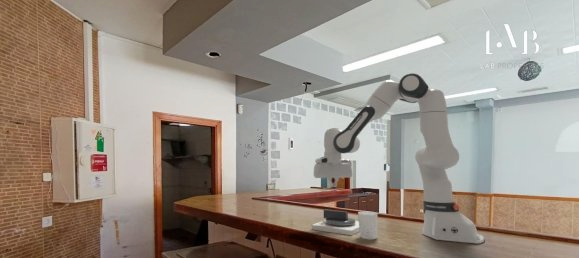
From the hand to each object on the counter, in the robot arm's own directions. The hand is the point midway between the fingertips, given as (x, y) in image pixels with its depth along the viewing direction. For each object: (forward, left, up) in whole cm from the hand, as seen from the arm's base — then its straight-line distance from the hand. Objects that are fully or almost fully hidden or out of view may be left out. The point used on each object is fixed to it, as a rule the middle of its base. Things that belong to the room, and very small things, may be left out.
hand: (333, 186), depth 144 cm
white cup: (-23, +14, -19) cm, 33 cm away
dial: (-5, +5, -16) cm, 18 cm away
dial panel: (-6, +5, -19) cm, 20 cm away
